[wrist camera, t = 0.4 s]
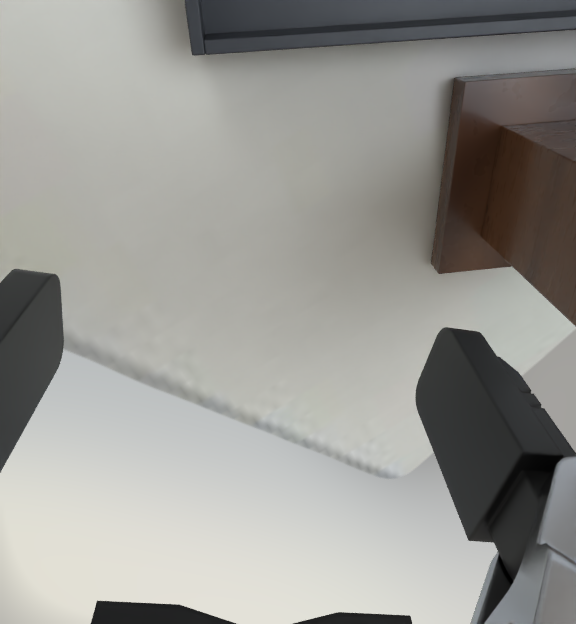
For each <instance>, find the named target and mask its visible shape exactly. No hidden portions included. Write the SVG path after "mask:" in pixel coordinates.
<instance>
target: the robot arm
mask: <svg viewBox="0 0 576 624" xmlns="http://www.w3.org/2000/svg"><path fill="white" fill-rule="evenodd" d="M63 345H64V336H63V319H62V303H61V287H60V280H59V278H58V276H57V275H56V274H50V273H43V272H35V271H28V270H20V269H14V270H12V271H11V272H10V273H9V274H8V275H7V276H6V277H5V278H4V279H3V281H2V282H1V283H0V472H1V470H2V468H3V467H4V465H5V463H6V461H7V459H8V458H9V456H10V454H11V452H12V450H13V449H14V447H15V445H16V443H17V441H18V440H19V438H20V436H21V434H22V432H23V431H24V429H25V427H26V425H27V423H28V421H29V420H30V418H31V416H32V414H33V413H34V411H35V408H36V407H37V405H38V403H39V402H40V400H41V398H42V396H43V394H44V393H45V391H46V389H47V387H48V385H49V384H50V382H51V380H52V378H53V376H54V375H55V373H56V371H57V369H58V367H59V364H60V361H61V358H62V353H63ZM416 406H417V410H418V413H419V415H420V418H421V420H422V423H423V425H424V428H425V431H426V433H427V436H428V438H429V441H430V443H431V446H432V448H433V451H434V453H435V456H436V459H437V461H438V464H439V466H440V469H441V471H442V474H443V476H444V479H445V481H446V484H447V487H448V489H449V492H450V494H451V497H452V499H453V502H454V505H455V507H456V509H457V512H458V515H459V517H460V520H461V522H462V525H463V527H464V530H465V533H466V535H467V538H468V540H469V541H482V542H494V543H495V545H496V548H497V550H498V552H497V554H496V555H495V557H494V558H493V560H492V562H491V564H490V567H489V570H488V573H487V576H486V579H485V582H484V584H483V588H482V590H481V594H480V596H479V599H478V602H477V605H476V608H475V611H474V615H473V617H472V621H471V624H576V453H575V452H574V450H573V449H572V448H571V446H570V445H569V443H568V442H567V440H566V439H565V437H564V436H563V435H562V433H561V432H560V430H559V429H558V428H557V426H556V425H555V423H554V422H553V421H552V419H551V418H550V416H549V415H548V413H547V412H546V411H545V409H543V408H541V404H540V402H539V401H538V399H537V398H536V397H535V395H534V394H531V390H530V388H529V387H528V385H527V384H526V382H525V381H524V380H523V378H522V377H521V375H520V374H519V373H518V372H517V371H516V370H515V369H514V368H512V367H511V366H510V365H509V364H507V363H506V362H505V361H504V360H503V359H501V358H500V357H497V356H496V354H495V353H494V351H493V350H492V348H491V347H490V345H489V344H488V343H487V341H486V340H485V338H484V337H483V335H482V334H481V333H480V332H477V331H469V330H462V329H454V328H443V329H442V330H441V331H440V332H439V333H438V335H437V337H436V339H435V342H434V344H433V347H432V349H431V352H430V354H429V356H428V359H427V361H426V364H425V366H424V369H423V371H422V373H421V376H420V378H419V381H418V384H417V388H416ZM91 624H236V623H233V622H230V621H226V620H223V619H220V618H218V617H214V616H211V615H209V614H206V613H203V612H200V611H196V610H194V609H190V608H187V607H184V606H181V605H172V604H152V603H131V602H110V601H97V603H96V607H95V611H94V614H93V618H92V622H91ZM294 624H412V621H411V617H410V616H405V615H384V614H383V615H382V614H363V613H342V612H339V613H334V614H330V615H326V616H322V617H318V618H314V619H310V620H306V621H302V622H298V623H294Z"/></svg>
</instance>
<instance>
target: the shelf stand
mask: <svg viewBox="0 0 576 624" xmlns="http://www.w3.org/2000/svg"><path fill="white" fill-rule="evenodd" d="M431 264H432V266H433V267H434V268H435V270H436V271H437V272H438V273H439V274H442V273H452V272H461V271H471V270H481V269H490V268H500V267H510V266H512V267H513V268H514V269H516V270H517V271H518V272H519V273H520V274H521V275H522V276H523V277H524V278H525V279H526V280H527V281H528V282H529V283H530V284H531V285H532V286H534V287H535V288H536V289H537V290H538V291H539V292H540V293H541V294H542V295H543V296H544V297H545V298H546V299H547V300H548V301H549V302H550V303H551V304H553V305H554V306H555V307H556V308H557V309H558V310H559V311H560V312H561V313H562V314H563V315H564V316H565V317H566V318H567V319H568V320H569V321H571V322H572V323H573V324H574V325H575V326H576V69H565V70H551V71H538V72H524V73H511V74H497V75H484V76H471V77H457V78H454V86H453V94H452V101H451V109H450V117H449V125H448V133H447V141H446V149H445V157H444V165H443V173H442V181H441V189H440V197H439V205H438V213H437V221H436V229H435V236H434V244H433V252H432V260H431Z"/></svg>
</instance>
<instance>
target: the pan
mask: <svg viewBox="0 0 576 624" xmlns="http://www.w3.org/2000/svg"><path fill="white" fill-rule="evenodd" d="M185 8H186V15H187V22H188V29H189V36H190V43H191V51H192V55H194V56H195V55H205V53H206V54H207V55H210V54H225V53H239V52H254V51H269V50H283V49H298V48H313V47H327V46H342V45H357V44H371V43H386V42H401V41H415V40H430V39H445V38H459V37H474V36H489V35H503V34H518V33H533V32H547V31H562V30H576V0H185Z"/></svg>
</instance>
